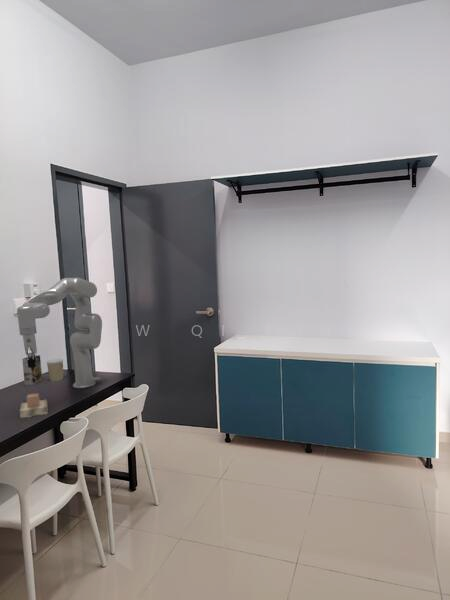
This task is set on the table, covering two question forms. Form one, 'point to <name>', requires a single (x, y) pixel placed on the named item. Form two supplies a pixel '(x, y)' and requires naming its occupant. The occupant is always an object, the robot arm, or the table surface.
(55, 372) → the coffee cup
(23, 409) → the birch block
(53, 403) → the table surface
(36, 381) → the coffee box
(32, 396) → the terracotta cube
